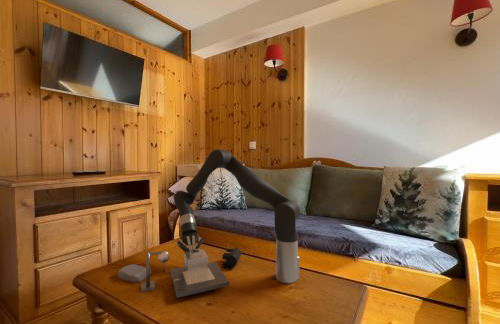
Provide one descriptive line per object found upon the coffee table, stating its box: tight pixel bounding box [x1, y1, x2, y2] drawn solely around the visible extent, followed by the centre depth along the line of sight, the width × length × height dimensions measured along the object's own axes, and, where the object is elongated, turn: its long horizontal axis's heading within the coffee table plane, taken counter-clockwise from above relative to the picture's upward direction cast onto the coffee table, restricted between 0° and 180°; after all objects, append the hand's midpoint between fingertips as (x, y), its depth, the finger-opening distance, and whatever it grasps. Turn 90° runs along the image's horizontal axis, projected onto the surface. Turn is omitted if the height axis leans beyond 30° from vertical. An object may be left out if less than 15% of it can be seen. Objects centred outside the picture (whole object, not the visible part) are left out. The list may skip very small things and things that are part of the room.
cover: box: [183, 248, 209, 277], centre depth 105 cm, size 8×8×9 cm
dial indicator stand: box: [140, 250, 171, 293], centre depth 98 cm, size 11×5×14 cm, turn 115°
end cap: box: [221, 247, 242, 270], centre depth 119 cm, size 10×7×7 cm
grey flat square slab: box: [169, 261, 230, 299], centre depth 101 cm, size 20×20×2 cm
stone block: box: [117, 263, 152, 284], centre depth 107 cm, size 12×5×10 cm
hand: (193, 259), depth 110 cm, fingers closed
